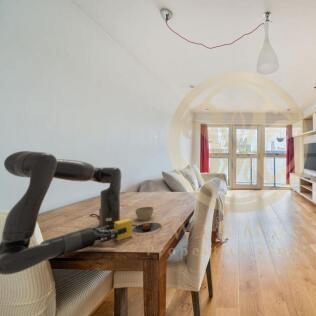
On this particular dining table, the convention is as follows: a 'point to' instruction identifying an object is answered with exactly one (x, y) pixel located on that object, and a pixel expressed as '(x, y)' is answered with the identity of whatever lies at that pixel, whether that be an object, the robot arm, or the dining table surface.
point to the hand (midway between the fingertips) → (122, 227)
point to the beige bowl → (144, 213)
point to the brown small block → (146, 226)
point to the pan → (139, 229)
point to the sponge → (123, 224)
